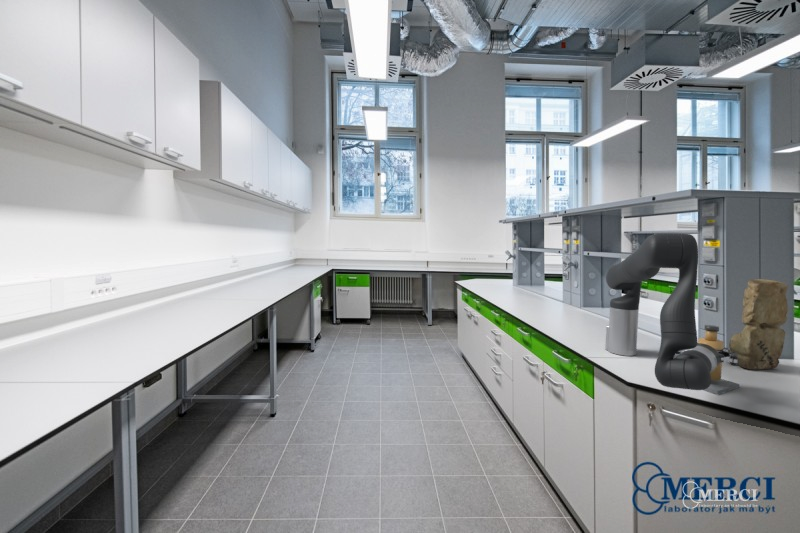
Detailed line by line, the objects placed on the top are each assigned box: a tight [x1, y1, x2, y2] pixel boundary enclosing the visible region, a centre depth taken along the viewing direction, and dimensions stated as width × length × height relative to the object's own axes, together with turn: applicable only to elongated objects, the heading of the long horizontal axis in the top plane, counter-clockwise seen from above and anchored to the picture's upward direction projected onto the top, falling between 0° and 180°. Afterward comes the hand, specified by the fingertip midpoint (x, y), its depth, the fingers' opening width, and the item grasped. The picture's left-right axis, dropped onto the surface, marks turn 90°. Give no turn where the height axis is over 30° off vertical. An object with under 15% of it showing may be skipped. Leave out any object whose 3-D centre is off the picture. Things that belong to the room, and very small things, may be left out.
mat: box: [703, 378, 741, 396], centre depth 104 cm, size 10×12×1 cm
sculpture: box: [728, 278, 789, 371], centre depth 118 cm, size 12×9×30 cm
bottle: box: [697, 324, 725, 380], centre depth 104 cm, size 6×6×15 cm
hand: (711, 348), depth 105 cm, fingers closed on bottle, 5 cm apart
